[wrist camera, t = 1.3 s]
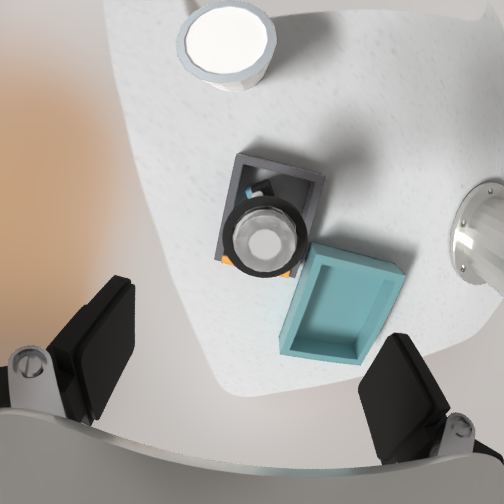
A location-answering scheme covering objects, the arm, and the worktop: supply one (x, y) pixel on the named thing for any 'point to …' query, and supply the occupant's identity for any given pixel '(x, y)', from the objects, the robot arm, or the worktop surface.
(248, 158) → the box
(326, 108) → the worktop surface
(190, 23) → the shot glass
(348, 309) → the tray
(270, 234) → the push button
